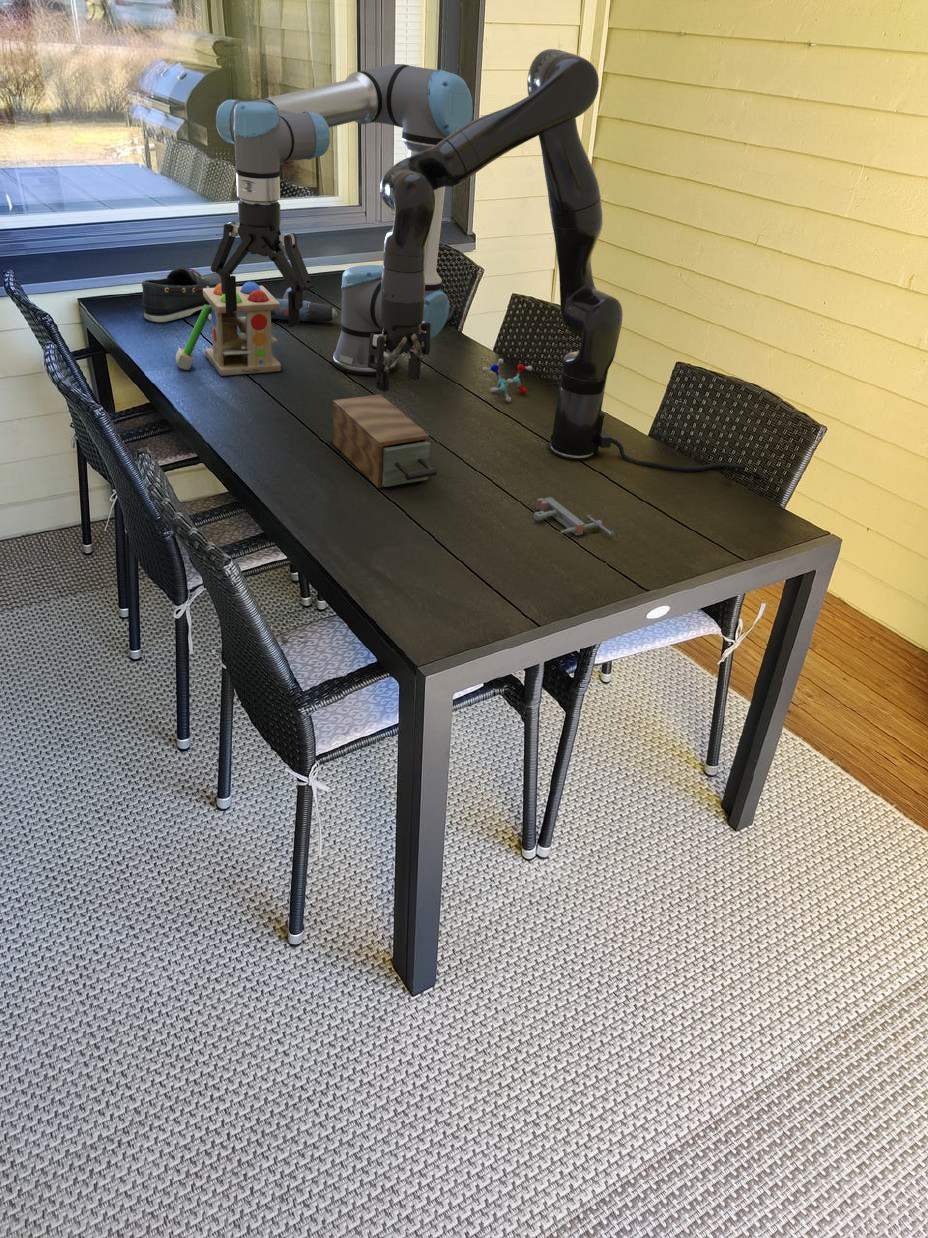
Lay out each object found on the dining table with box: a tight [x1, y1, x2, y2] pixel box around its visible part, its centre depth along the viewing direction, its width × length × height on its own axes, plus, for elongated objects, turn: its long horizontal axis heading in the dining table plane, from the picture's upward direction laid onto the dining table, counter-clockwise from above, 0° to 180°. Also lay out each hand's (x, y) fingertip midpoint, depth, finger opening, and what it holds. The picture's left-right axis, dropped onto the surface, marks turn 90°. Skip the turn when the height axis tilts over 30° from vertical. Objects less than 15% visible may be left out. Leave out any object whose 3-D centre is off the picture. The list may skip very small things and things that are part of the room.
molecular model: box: [482, 358, 533, 403], centre depth 227 cm, size 12×10×10 cm
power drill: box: [271, 286, 338, 322], centre depth 265 cm, size 5×19×20 cm
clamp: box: [533, 496, 615, 537], centre depth 178 cm, size 15×2×10 cm
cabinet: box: [332, 393, 430, 489], centre depth 192 cm, size 21×10×9 cm, turn 30°
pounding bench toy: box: [174, 281, 282, 377], centre depth 225 cm, size 23×14×18 cm, turn 116°
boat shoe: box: [141, 266, 221, 323], centre depth 261 cm, size 13×33×10 cm, turn 147°
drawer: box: [382, 440, 438, 488], centre depth 188 cm, size 26×9×7 cm, turn 30°
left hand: (262, 318), depth 187 cm, fingers open, 13 cm apart
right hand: (398, 384), depth 177 cm, fingers open, 8 cm apart
